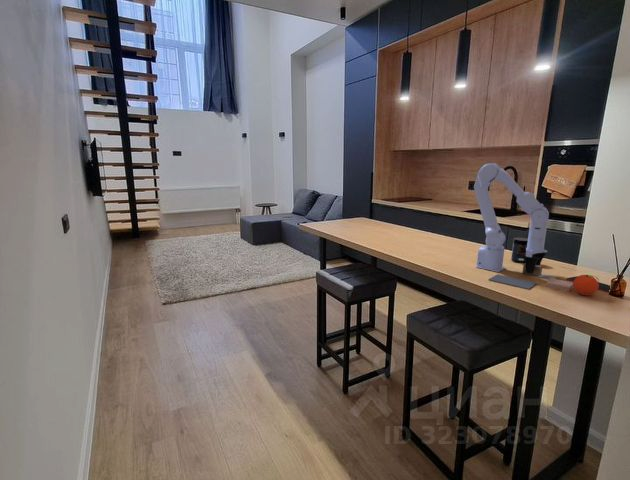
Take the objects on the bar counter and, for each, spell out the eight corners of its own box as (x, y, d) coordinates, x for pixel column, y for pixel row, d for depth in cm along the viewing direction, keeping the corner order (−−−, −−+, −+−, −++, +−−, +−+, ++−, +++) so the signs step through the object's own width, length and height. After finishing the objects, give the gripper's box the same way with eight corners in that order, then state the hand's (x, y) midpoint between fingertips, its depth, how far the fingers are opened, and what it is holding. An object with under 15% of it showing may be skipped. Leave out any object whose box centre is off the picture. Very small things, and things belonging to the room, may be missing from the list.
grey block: (521, 274, 142) (522, 264, 141) (525, 271, 145) (526, 262, 144) (553, 280, 134) (554, 270, 133) (556, 278, 137) (557, 268, 136)
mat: (488, 280, 135) (488, 279, 135) (497, 275, 141) (497, 274, 141) (528, 289, 125) (529, 288, 125) (536, 283, 131) (537, 282, 130)
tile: (546, 282, 128) (569, 287, 123) (551, 278, 132) (574, 282, 127) (545, 287, 128) (568, 292, 123) (551, 283, 133) (573, 287, 128)
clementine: (588, 290, 124) (592, 271, 122) (605, 298, 117) (609, 277, 115) (566, 291, 123) (569, 271, 122) (581, 298, 117) (585, 278, 115)
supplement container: (524, 259, 163) (527, 237, 160) (530, 263, 156) (533, 241, 154) (508, 259, 164) (511, 237, 161) (514, 263, 157) (517, 240, 155)
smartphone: (608, 291, 122) (564, 278, 135) (607, 294, 122) (564, 280, 135) (621, 288, 124) (577, 275, 138) (621, 291, 124) (577, 278, 138)
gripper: (542, 242, 131) (537, 277, 133) (553, 236, 140) (548, 269, 143) (521, 239, 136) (517, 273, 139) (533, 234, 145) (529, 265, 148)
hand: (532, 271), depth 141 cm, fingers open, 6 cm apart
